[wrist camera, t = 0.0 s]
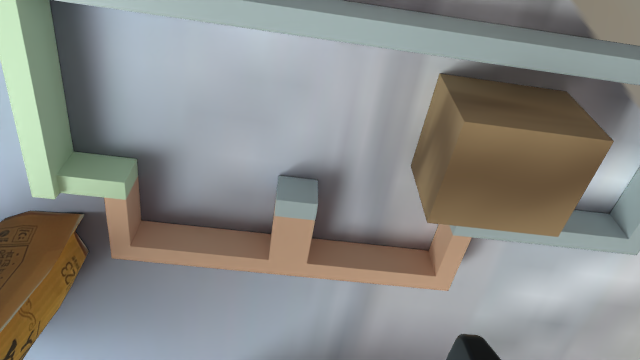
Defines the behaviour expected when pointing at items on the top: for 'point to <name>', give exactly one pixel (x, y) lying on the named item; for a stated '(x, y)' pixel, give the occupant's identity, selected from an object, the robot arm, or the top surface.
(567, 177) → the block
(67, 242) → the pancake mix bag
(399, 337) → the top surface
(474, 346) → the robot arm
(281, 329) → the top surface
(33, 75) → the trap box
